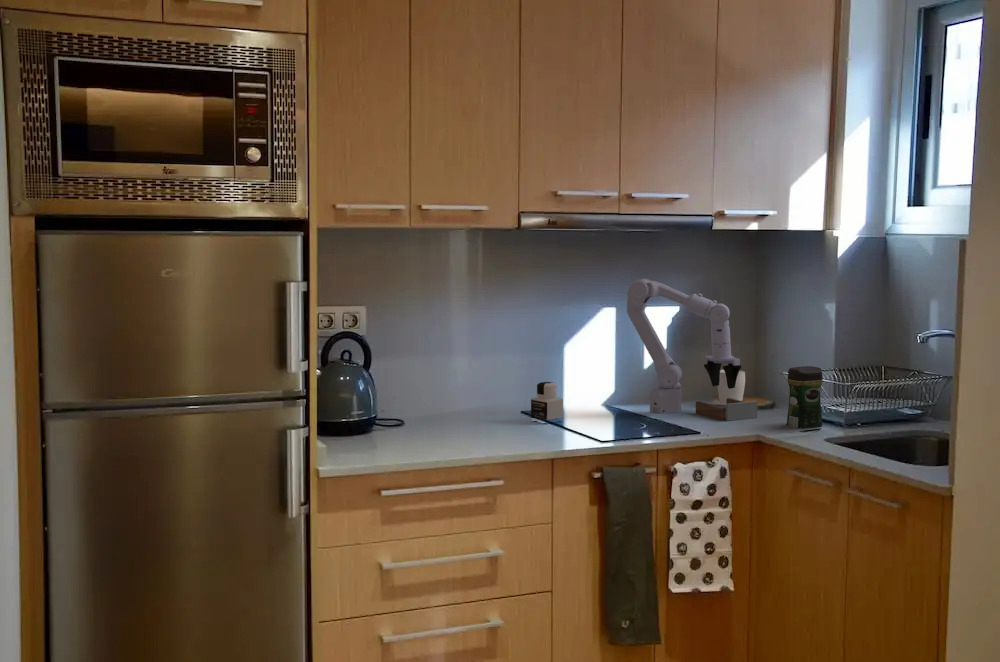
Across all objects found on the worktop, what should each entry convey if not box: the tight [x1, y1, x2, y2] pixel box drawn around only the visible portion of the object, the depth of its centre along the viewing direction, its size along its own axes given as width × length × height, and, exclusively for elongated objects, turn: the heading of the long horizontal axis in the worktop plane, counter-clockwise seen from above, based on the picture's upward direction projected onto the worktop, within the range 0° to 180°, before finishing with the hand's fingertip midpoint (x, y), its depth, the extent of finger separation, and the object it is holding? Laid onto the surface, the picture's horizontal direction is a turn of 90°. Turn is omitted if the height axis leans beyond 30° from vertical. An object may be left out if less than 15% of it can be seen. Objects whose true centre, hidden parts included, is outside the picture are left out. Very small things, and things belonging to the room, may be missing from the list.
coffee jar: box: [786, 365, 824, 433], centre depth 284 cm, size 10×8×19 cm
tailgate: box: [724, 400, 758, 422], centre depth 294 cm, size 11×1×5 cm, turn 115°
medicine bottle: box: [530, 381, 564, 420], centre depth 300 cm, size 7×7×12 cm
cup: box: [717, 369, 746, 407], centre depth 319 cm, size 9×9×12 cm
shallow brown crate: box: [695, 398, 745, 422], centre depth 301 cm, size 13×13×5 cm
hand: (723, 387), depth 303 cm, fingers open, 7 cm apart
